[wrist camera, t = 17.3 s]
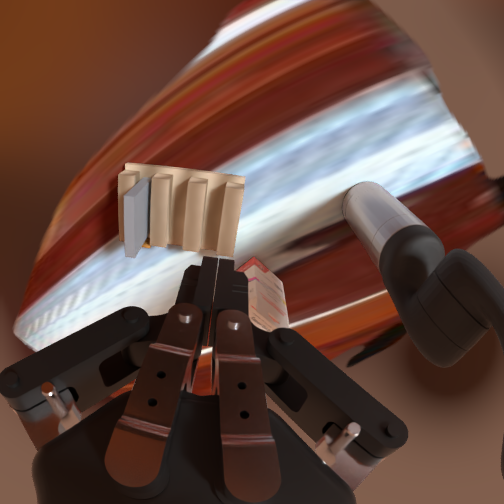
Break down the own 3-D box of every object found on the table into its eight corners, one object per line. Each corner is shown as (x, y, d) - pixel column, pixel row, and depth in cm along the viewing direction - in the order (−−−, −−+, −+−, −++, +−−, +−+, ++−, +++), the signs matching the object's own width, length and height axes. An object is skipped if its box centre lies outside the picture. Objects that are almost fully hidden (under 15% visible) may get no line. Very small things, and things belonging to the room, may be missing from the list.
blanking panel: (152, 178, 46) (134, 197, 38) (150, 231, 51) (134, 258, 43) (143, 177, 46) (123, 195, 38) (142, 230, 51) (125, 256, 43)
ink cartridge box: (234, 270, 56) (231, 325, 44) (254, 255, 55) (256, 308, 42) (264, 296, 60) (268, 351, 47) (283, 282, 58) (292, 337, 45)
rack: (245, 176, 47) (245, 183, 44) (232, 250, 54) (231, 262, 51) (127, 162, 45) (118, 168, 42) (127, 235, 52) (119, 245, 49)
